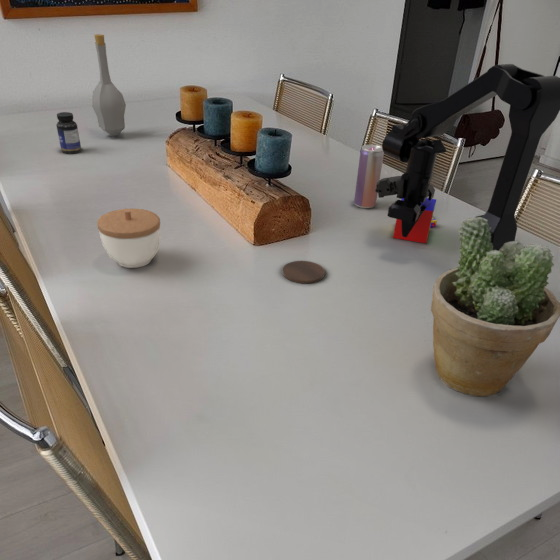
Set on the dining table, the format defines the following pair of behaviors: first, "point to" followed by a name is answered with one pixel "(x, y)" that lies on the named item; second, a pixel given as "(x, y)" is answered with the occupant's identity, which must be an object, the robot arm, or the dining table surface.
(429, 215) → the cube
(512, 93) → the robot arm
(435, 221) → the building blocks
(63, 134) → the pill bottle
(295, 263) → the coaster
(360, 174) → the beverage can
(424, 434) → the dining table surface
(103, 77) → the bottle
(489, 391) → the potted plant
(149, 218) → the lidded bowl
